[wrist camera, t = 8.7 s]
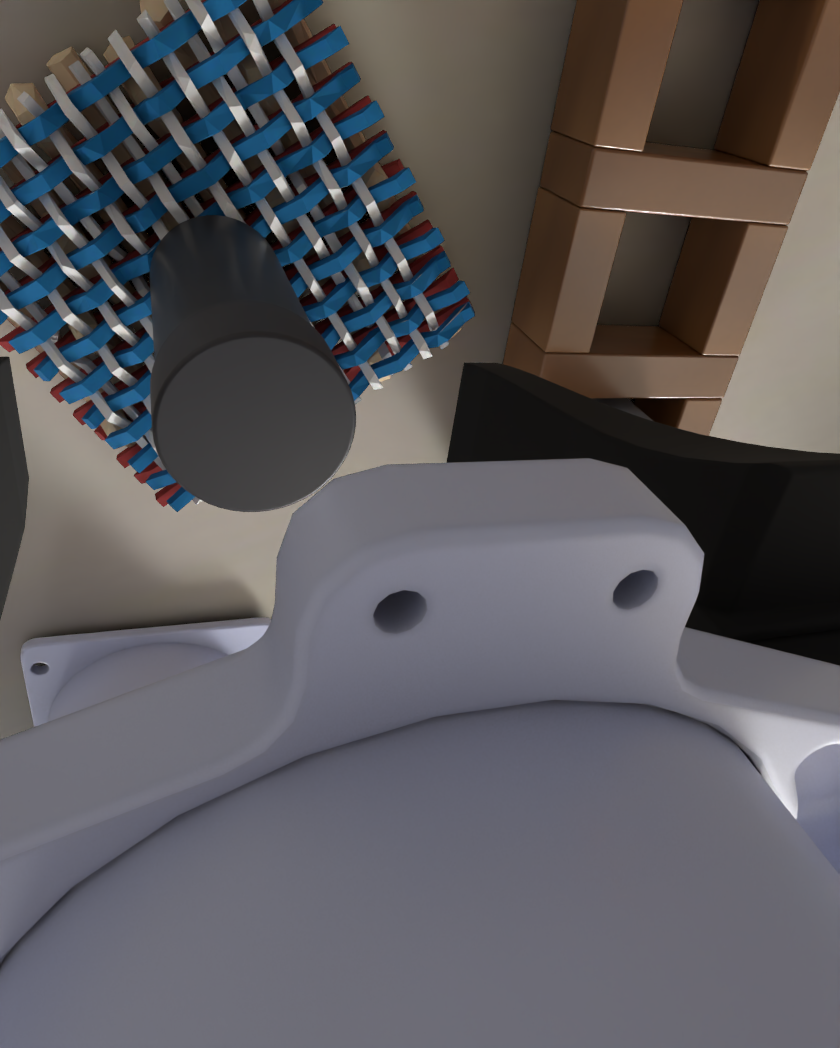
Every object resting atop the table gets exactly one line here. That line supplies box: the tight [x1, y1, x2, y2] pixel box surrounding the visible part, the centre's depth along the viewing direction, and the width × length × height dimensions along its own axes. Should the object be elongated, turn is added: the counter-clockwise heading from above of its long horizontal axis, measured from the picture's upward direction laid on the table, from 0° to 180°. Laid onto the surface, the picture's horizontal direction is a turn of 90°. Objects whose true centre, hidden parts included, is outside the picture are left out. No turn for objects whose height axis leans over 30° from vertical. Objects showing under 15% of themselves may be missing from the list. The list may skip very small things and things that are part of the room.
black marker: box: [150, 215, 356, 512], centre depth 15 cm, size 3×3×8 cm
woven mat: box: [0, 0, 475, 512], centre depth 19 cm, size 10×11×2 cm
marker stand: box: [503, 0, 840, 436], centre depth 22 cm, size 17×7×2 cm, turn 172°
